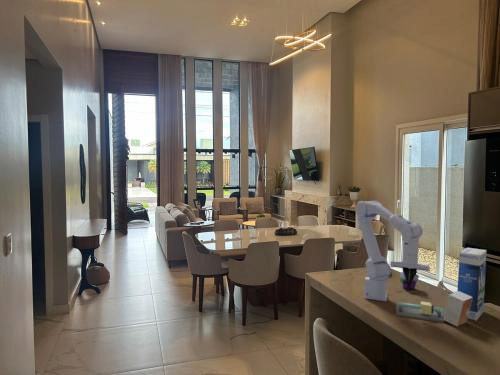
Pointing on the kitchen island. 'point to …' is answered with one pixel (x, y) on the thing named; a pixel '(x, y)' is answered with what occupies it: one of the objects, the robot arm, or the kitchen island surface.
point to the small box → (457, 308)
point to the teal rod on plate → (419, 312)
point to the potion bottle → (404, 283)
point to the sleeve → (425, 308)
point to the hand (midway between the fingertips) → (408, 286)
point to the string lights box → (473, 278)
